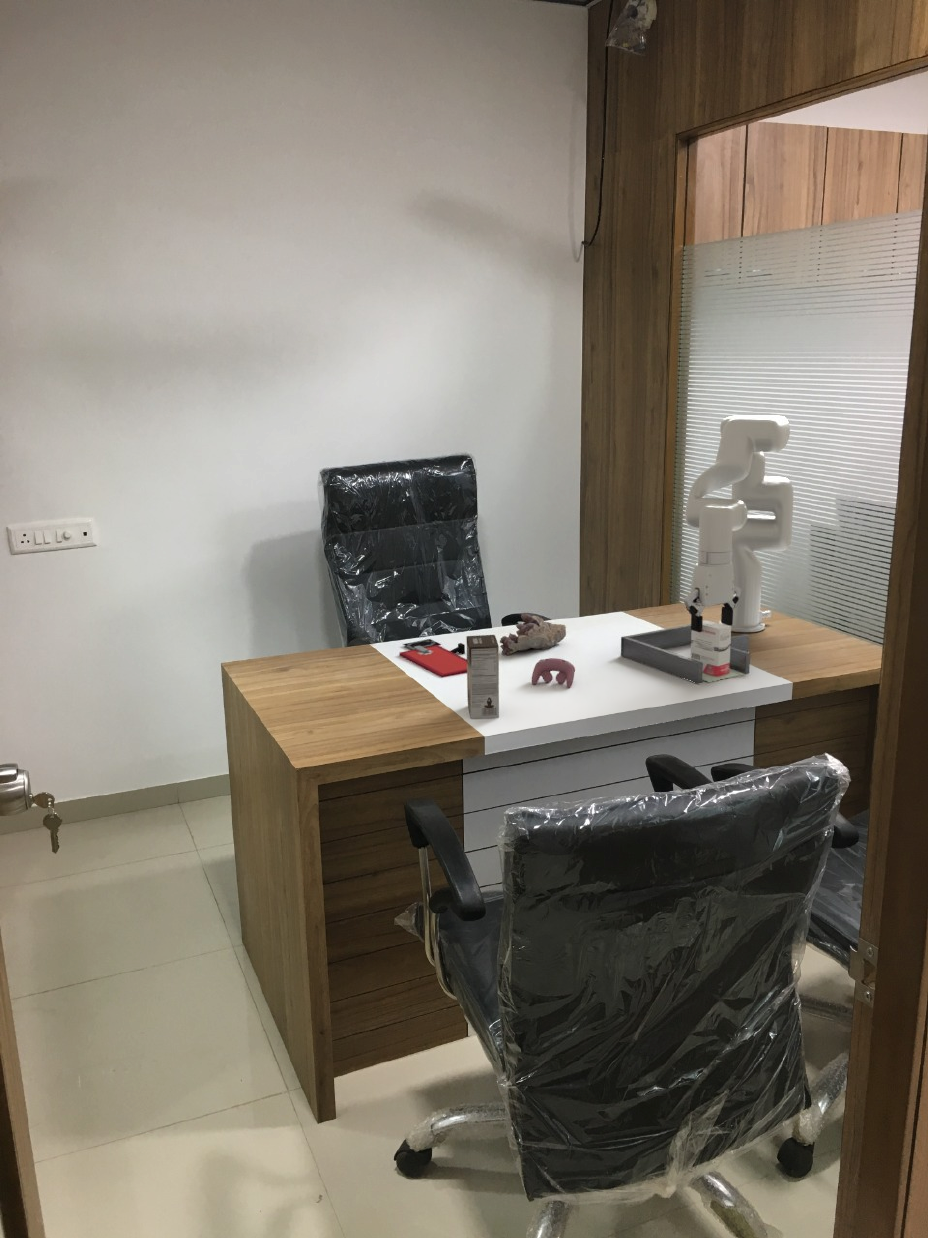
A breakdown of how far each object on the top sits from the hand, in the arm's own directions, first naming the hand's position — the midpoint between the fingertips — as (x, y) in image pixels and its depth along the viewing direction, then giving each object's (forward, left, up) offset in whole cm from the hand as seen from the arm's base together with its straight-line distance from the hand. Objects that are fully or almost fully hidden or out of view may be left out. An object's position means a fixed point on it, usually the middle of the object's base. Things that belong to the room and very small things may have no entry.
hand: (711, 627), depth 240 cm
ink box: (0, 0, -11) cm, 11 cm away
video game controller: (+36, -14, -12) cm, 41 cm away
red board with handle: (+49, -47, -12) cm, 69 cm away
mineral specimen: (+23, -41, -12) cm, 48 cm away
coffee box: (+61, -6, -11) cm, 62 cm away
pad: (+1, 0, -11) cm, 11 cm away
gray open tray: (-5, -9, -11) cm, 15 cm away
